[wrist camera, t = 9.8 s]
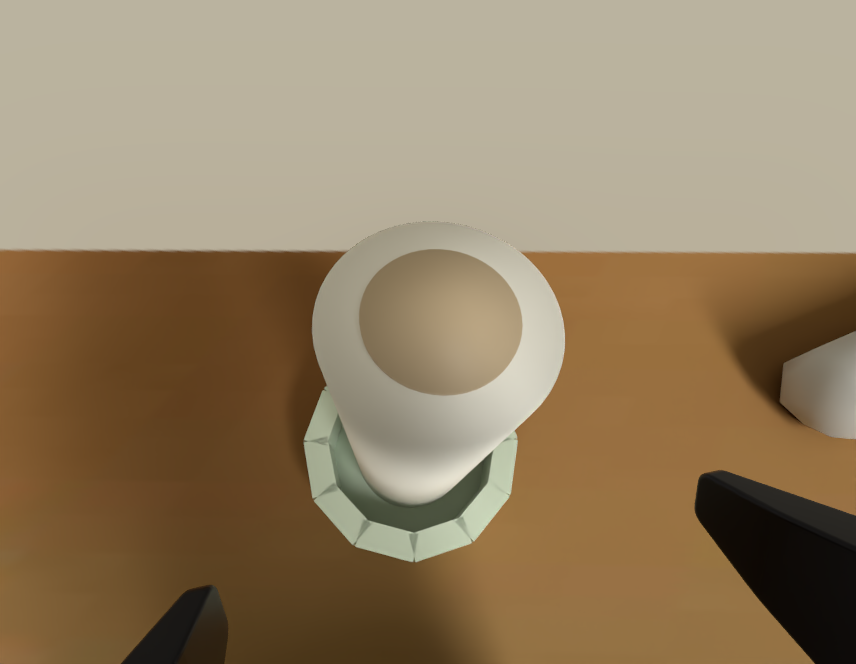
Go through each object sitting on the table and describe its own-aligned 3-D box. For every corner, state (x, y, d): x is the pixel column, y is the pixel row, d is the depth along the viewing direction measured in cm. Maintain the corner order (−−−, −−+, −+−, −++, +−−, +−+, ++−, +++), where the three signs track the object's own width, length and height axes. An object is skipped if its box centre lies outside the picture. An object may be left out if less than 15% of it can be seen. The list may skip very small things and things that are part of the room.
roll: (422, 532, 18) (478, 508, 7) (335, 461, 19) (252, 332, 8) (483, 440, 20) (609, 299, 9) (402, 381, 21) (416, 182, 10)
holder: (485, 580, 18) (498, 585, 16) (286, 526, 18) (271, 523, 16) (513, 389, 22) (527, 372, 20) (351, 348, 23) (346, 327, 20)
